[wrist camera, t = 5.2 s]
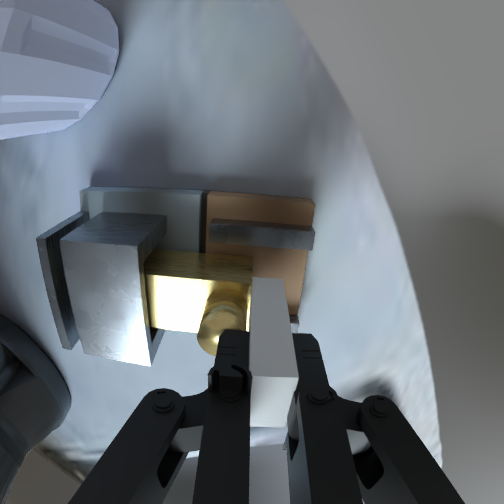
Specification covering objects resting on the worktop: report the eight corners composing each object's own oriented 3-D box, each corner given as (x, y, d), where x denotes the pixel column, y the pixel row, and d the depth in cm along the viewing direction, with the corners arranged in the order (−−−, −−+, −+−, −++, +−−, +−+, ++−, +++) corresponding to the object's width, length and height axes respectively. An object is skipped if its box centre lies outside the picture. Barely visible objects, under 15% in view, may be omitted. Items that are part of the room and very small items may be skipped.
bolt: (132, 293, 18) (97, 347, 13) (127, 246, 16) (85, 292, 12) (248, 304, 18) (246, 367, 13) (252, 256, 17) (251, 311, 12)
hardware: (94, 306, 19) (62, 348, 14) (81, 211, 16) (36, 237, 12) (294, 327, 19) (303, 379, 15) (311, 226, 16) (330, 261, 12)
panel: (103, 311, 20) (97, 321, 19) (89, 187, 17) (79, 191, 16) (290, 331, 20) (292, 342, 19) (311, 199, 17) (314, 204, 16)
